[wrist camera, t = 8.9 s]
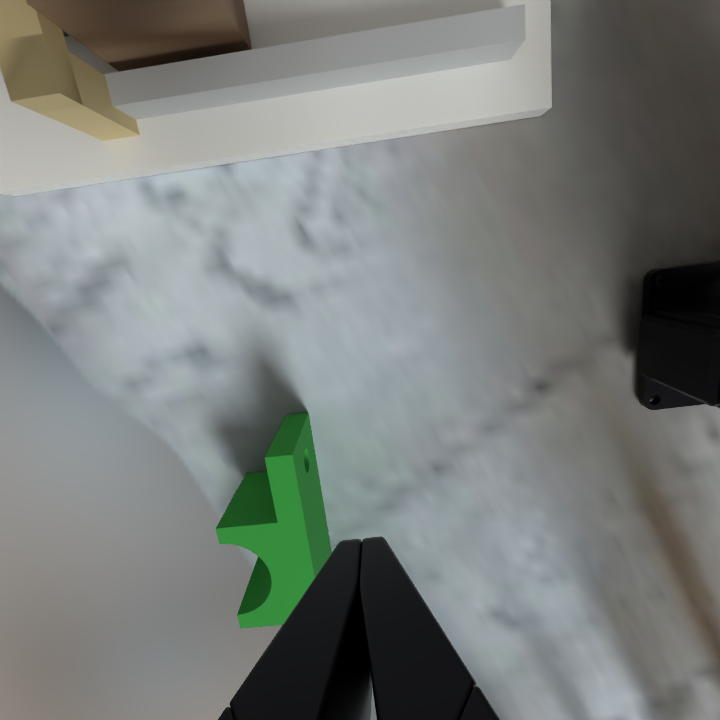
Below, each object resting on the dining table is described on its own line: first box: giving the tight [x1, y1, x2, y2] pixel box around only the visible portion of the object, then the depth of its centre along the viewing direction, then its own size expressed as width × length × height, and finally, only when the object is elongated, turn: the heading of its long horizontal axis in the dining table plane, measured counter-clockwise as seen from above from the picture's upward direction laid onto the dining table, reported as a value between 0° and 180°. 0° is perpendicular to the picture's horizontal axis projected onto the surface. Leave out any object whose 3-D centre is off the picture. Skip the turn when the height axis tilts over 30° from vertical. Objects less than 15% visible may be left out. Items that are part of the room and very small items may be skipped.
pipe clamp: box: [216, 413, 332, 628], centre depth 19 cm, size 11×4×5 cm, turn 7°
